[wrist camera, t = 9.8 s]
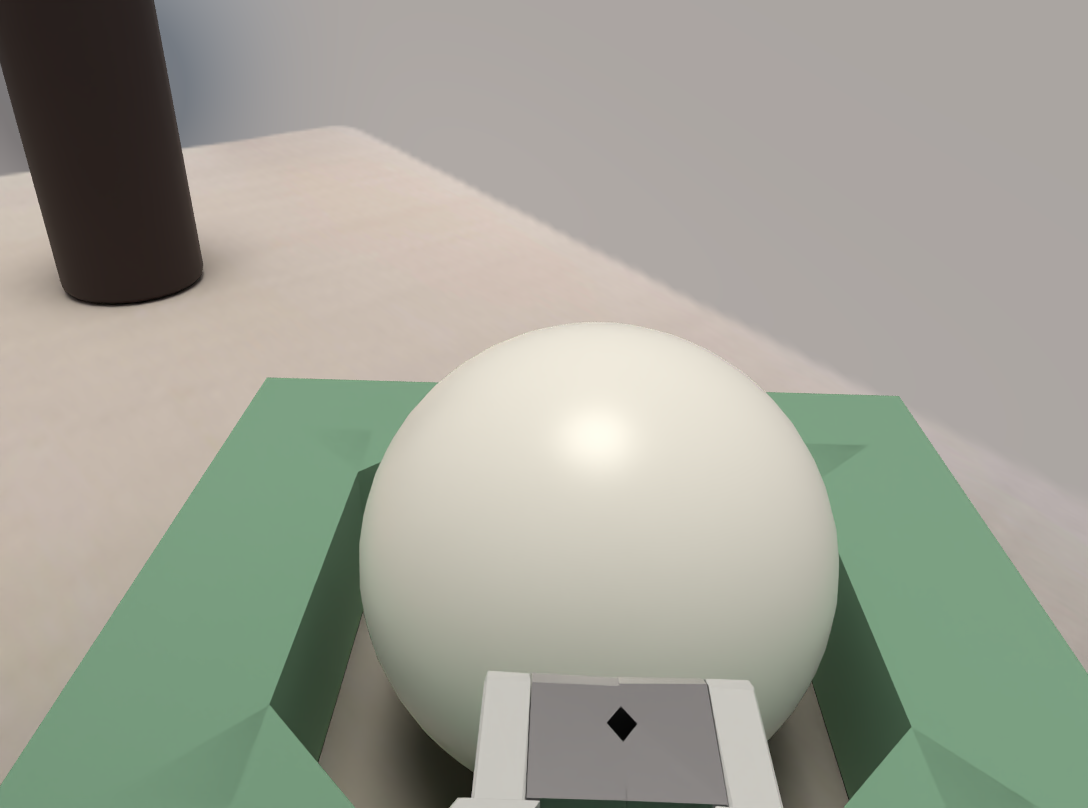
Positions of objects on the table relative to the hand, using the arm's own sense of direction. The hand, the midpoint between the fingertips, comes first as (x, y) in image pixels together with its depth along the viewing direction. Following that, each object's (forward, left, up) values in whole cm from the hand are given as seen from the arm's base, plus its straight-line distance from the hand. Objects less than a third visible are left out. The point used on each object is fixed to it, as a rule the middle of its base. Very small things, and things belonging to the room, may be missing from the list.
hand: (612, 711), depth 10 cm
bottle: (+12, +40, -9) cm, 42 cm away
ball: (+6, +5, -4) cm, 9 cm away
